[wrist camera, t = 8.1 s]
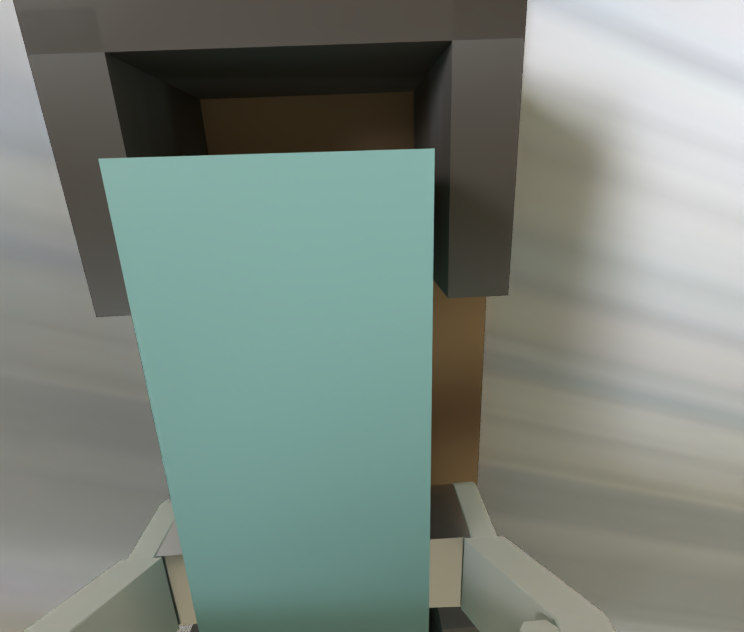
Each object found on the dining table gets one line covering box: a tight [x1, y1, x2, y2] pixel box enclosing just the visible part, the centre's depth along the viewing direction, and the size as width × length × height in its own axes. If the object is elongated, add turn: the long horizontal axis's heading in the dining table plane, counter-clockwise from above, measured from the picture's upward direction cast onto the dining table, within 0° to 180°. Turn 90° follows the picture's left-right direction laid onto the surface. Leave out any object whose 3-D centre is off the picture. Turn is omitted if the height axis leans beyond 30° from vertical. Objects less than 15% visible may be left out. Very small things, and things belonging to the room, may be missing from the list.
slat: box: [98, 148, 435, 632], centre depth 10 cm, size 16×4×4 cm, turn 2°
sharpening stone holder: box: [13, 0, 527, 632], centre depth 12 cm, size 24×10×6 cm, turn 2°
